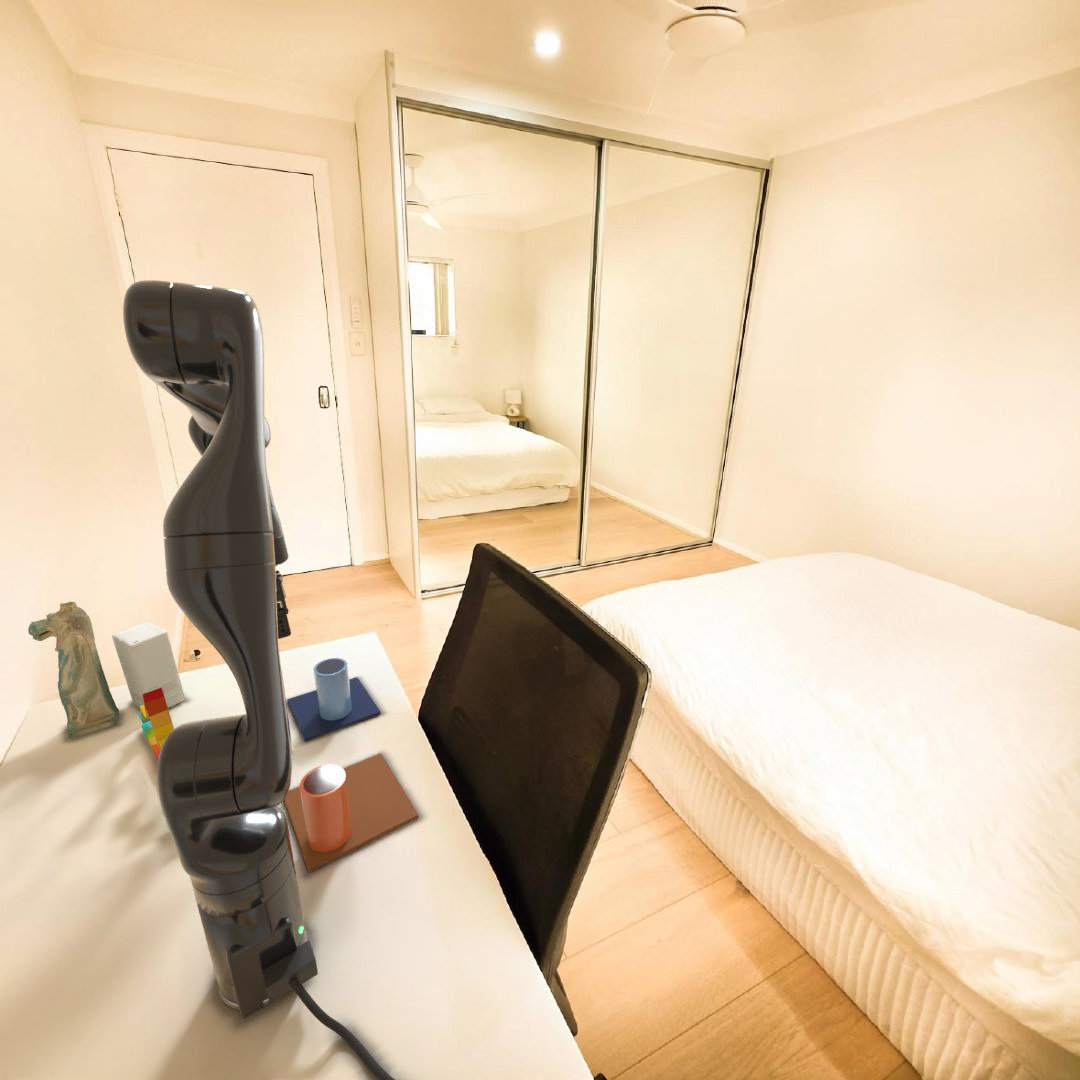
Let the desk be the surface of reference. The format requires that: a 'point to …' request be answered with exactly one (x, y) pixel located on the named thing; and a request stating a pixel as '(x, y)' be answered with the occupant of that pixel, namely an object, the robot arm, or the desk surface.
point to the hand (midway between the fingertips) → (280, 627)
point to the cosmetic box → (148, 663)
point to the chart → (155, 719)
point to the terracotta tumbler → (326, 808)
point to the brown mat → (359, 809)
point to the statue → (78, 670)
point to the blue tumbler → (333, 688)
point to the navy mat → (316, 726)
